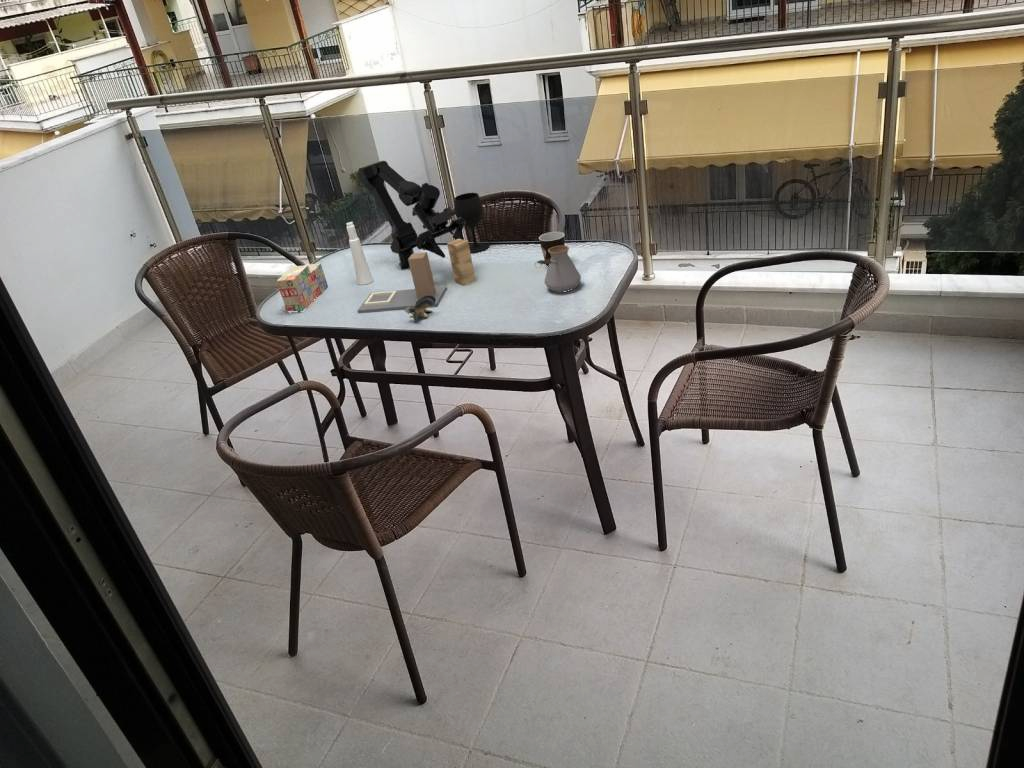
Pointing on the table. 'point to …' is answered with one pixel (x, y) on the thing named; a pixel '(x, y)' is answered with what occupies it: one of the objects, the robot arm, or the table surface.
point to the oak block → (461, 261)
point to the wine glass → (470, 216)
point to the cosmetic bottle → (358, 257)
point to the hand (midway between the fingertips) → (455, 252)
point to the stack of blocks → (301, 286)
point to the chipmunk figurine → (421, 307)
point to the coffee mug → (550, 242)
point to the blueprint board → (407, 297)
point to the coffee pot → (560, 270)
